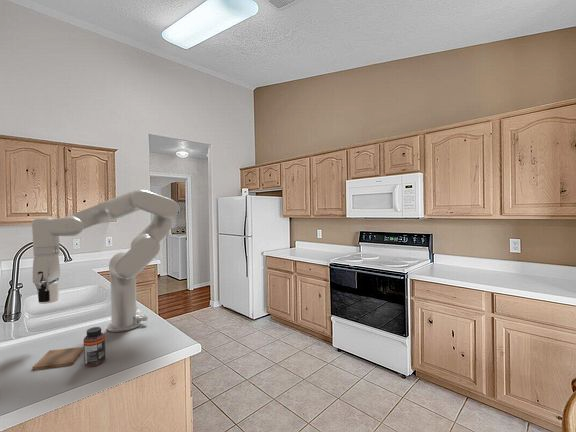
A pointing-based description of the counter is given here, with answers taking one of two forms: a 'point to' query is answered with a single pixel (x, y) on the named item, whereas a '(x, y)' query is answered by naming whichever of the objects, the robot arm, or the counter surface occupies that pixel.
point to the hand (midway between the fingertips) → (48, 298)
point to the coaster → (59, 358)
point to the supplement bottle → (94, 347)
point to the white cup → (52, 291)
